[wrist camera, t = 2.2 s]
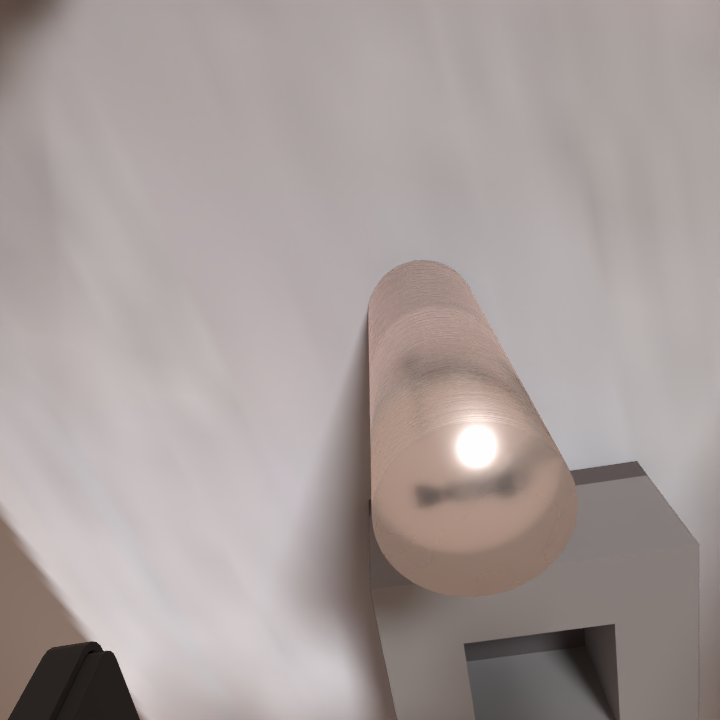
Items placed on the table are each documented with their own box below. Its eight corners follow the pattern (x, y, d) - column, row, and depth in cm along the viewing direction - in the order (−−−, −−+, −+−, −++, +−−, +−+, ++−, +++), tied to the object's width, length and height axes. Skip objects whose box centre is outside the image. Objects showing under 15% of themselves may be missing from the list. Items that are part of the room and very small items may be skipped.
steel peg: (467, 251, 22) (570, 405, 11) (480, 353, 24) (584, 582, 12) (359, 270, 23) (355, 439, 11) (377, 369, 24) (388, 609, 13)
